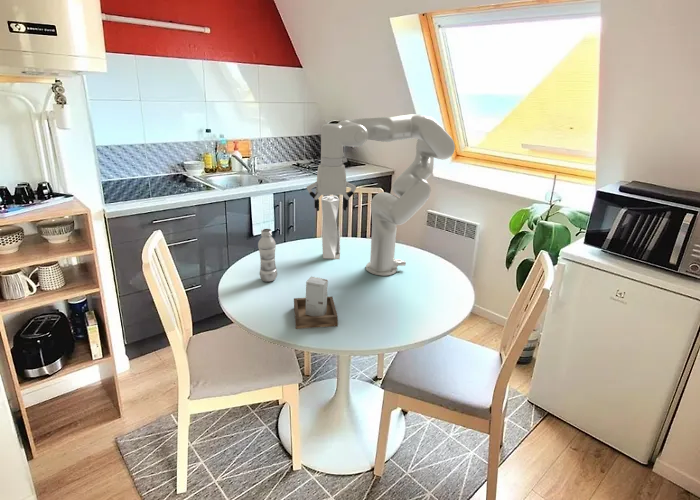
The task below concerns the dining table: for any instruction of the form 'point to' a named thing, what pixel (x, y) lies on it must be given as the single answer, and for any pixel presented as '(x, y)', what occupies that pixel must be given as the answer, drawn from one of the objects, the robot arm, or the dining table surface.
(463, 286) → the dining table surface
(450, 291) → the dining table surface
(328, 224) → the skyscraper
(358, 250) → the dining table surface
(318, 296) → the skincare box
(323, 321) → the walnut tray
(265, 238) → the plastic bottle
